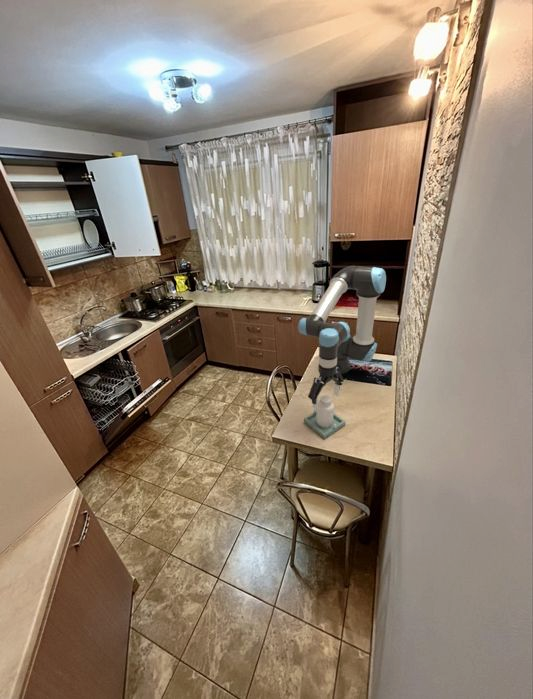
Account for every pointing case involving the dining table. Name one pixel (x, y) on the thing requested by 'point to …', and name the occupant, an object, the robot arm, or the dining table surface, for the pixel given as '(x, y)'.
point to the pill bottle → (325, 412)
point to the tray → (322, 431)
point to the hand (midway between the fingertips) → (325, 401)
